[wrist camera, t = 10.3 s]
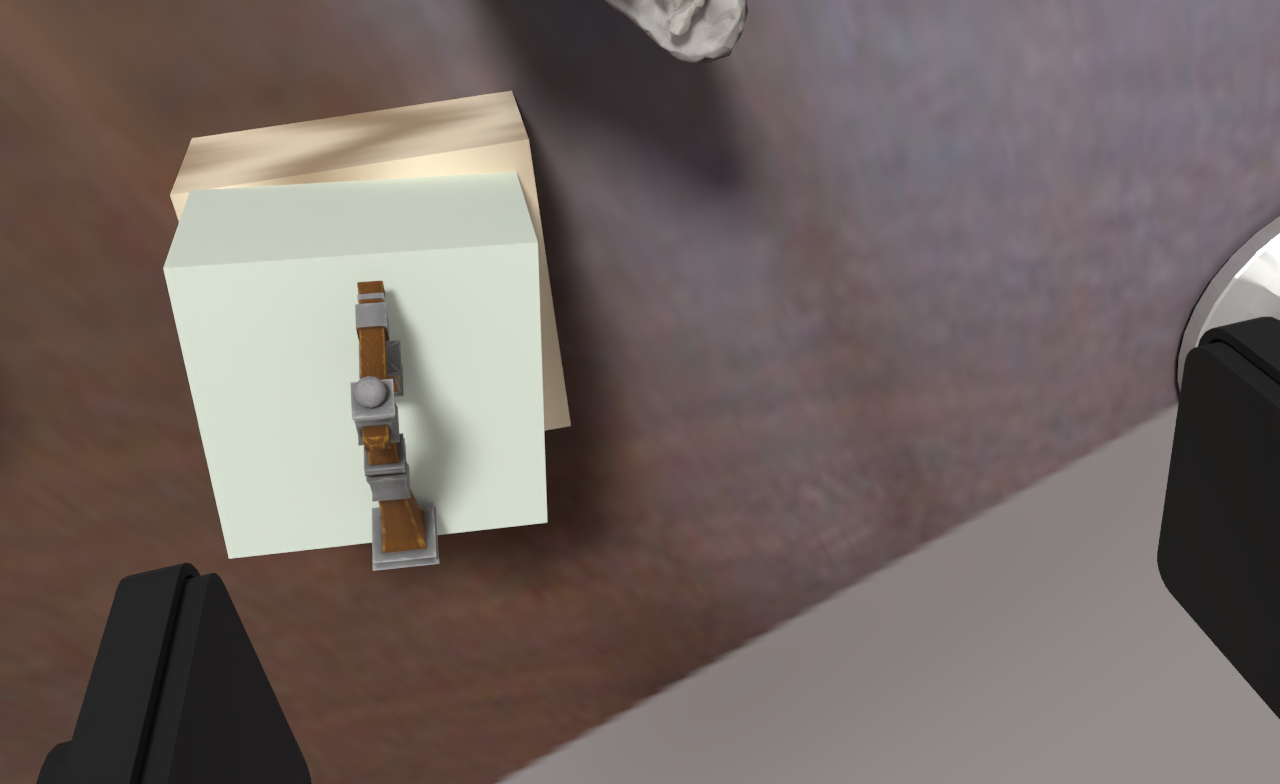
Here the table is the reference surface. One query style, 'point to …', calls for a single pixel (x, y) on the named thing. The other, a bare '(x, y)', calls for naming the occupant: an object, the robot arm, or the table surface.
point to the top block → (329, 351)
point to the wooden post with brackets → (387, 442)
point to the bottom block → (390, 173)
